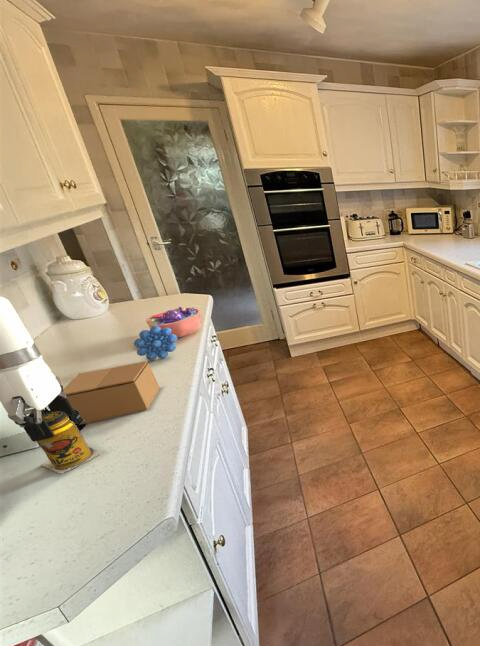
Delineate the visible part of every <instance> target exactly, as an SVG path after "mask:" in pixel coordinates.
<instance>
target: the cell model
mask: <svg viewBox="0 0 480 646" xmlns="http://www.w3.org/2000/svg"><path fill="white" fill-rule="evenodd" d="M145 323H146V324H147V325H148V327H149V329H150V328H151V327H153V326H159V327H160V328H161V330H162V329H163V328H170V329H171V331H172V333H171V334H170V335H172V334H174V335H176V336H177V339H179V338H183V337H187V336H189V335H191V334H193V333H195V332H196V331H197V330H198V329H199V328H200V327H201V326H202V317H201V310H200V309H198V308H194V307H184V308H183V307H181V306H178V307H177V308H174V309H169V310H166V311H164V312H160V313H157V314H154V315H151V316H149V317H148V318H146V319H145Z"/></svg>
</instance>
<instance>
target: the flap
mask: <svg viewBox="0 0 480 646" xmlns="http://www.w3.org/2000/svg"><path fill="white" fill-rule="evenodd" d="M114 367H115V366H112V367H108V368H101V369H97V370H91V371H86V372H79V373H78V374H77V375H76V376H75V377H73V378H72V380H71V381H70V382H69V383H68V384H67V385H65V386H64V387H63V392H64V393H65V394H66V395H69V394H74V393H79V392H84V391H89V390H94V389H97V387H98V385H99V384H100V383H101V382H102V381H103V380H104V378H105V377H106V376H107V375H108V374H109V373H110V372H111V370H112V369H113V368H114Z"/></svg>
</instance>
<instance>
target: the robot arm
mask: <svg viewBox="0 0 480 646" xmlns="http://www.w3.org/2000/svg"><path fill="white" fill-rule="evenodd" d="M63 389H64V385H62V384H61V380H60V377H59V376H58V375H55V374H54V373H53V372H52V369H50V367H49V365H48V364H47V363H46V362H45V360H44V359H43V355H42V353H41V351H40V350H39V348H38V347H37V344H36V342H34V340H33V338H32V336H31V334H30V333H29V331H28V329H27V328H26V326H25V325H24V323H23V321H22V320H21V317H20V316H19V315H18V313H17V311H16V309H15V308H14V306H13V305H12V303H11V301H10V300H9V299H8V298H6V297H4V296H1V295H0V403H1V405H2V407H3V408H4V410H5V411H6V414H7V418H8V419H10V420H11V421H12V422H14V424H15V425H17V426H19V427H20V428H23V430H24V431H25V433H26V434H27V436H28V437H29V438H30V440H31V442H33V443H34V442H38V441H40V440H44V439H48V438H52V437H53V436H54V433H53V432H52V430H51V428H50V427H49V425H48V424H47V422H46V421H45V420H44V421H42V411H43V410H44V409H45V408H46V407H48V408H49V410H50V412H56V411H63V412H65V413H66V414H67V416H68V415H70V414H73V413H74V412H75V411H74V409H73V408H72V406H71V404H70V403H69V401H68V399H67V398H66V394H65V393H64V392H63ZM32 414H33V416H29V415H32Z"/></svg>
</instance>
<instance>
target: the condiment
mask: <svg viewBox="0 0 480 646" xmlns="http://www.w3.org/2000/svg"><path fill="white" fill-rule="evenodd" d="M41 416H42V421H44V420H45V421H46V422H47V424H48V425H49V427H50V428H51V430H52V432H53V433H54V436H53V437H52V438H48V439H44V440H40V441H37V443H38V444H39V445H40V448H41V449H42V451H43V452H44V453H45V455H46V457H47V459H48V461H47V462H45V463H43V464H41V466H42V467H44V468H46V469H49V470H51V471H53V472H55V473H57V474H59V475H63V474H65V473H66V472H68V471H71V470H72V469H75V468H77V467H79V466H81V465H83V464H84V463H87V462H89V461H90V460H92V459H94V458H95V457H97V456H99V455H101V454H103V453H104V452H103V451H100V450H97V449H94V448H92V447H89V445H88V443H87V441H86V440H85V438H84V437H83V435H82V433H81V431H80V429H79V428H78V425H75V423H74V422H73V421H71V420H70V418H69V416H68V415H67V414H66V413H65V412H63V411H56V412H52V411H50V412H48V413H44V414H41Z"/></svg>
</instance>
